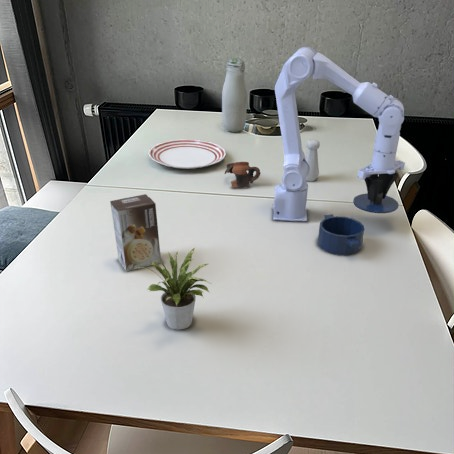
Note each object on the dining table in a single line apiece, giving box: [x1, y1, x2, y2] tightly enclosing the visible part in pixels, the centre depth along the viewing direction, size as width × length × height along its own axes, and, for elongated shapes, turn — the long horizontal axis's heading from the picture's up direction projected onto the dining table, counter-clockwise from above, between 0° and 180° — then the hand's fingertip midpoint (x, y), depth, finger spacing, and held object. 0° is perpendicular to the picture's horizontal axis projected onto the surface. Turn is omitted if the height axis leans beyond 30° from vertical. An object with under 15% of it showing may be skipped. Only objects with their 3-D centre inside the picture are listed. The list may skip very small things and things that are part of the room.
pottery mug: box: [224, 161, 261, 189], centre depth 168 cm, size 12×10×8 cm
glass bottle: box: [221, 57, 248, 133], centre depth 207 cm, size 10×10×28 cm
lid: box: [352, 190, 399, 214], centre depth 140 cm, size 12×12×4 cm
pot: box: [317, 213, 365, 256], centre depth 134 cm, size 11×17×5 cm
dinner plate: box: [148, 138, 227, 170], centre depth 185 cm, size 27×27×3 cm
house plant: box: [137, 247, 212, 331], centre depth 102 cm, size 14×14×16 cm
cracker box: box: [110, 193, 162, 272], centre depth 123 cm, size 9×6×16 cm
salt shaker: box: [305, 138, 321, 182], centre depth 169 cm, size 6×6×13 cm
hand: (376, 198), depth 140 cm, fingers closed on lid, 3 cm apart
